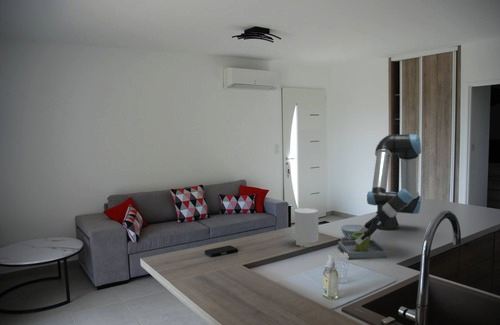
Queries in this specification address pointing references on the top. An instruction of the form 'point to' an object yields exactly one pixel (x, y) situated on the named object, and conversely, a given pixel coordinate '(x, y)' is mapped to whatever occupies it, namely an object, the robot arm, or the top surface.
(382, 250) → the tray
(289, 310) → the top surface
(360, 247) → the plant pot
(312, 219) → the canister
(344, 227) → the chinaware
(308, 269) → the top surface
